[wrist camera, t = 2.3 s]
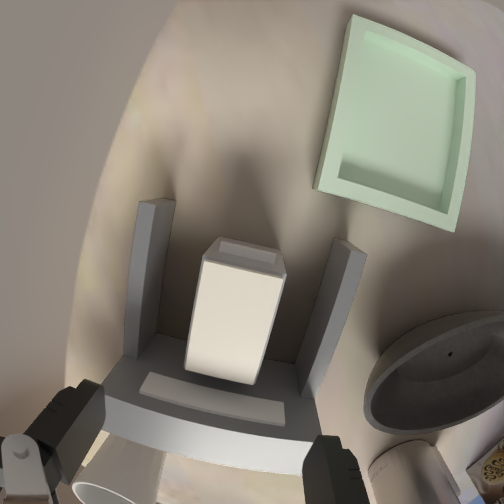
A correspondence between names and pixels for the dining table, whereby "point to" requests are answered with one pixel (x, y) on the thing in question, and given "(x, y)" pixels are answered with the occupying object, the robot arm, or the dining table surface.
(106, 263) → the dining table surface
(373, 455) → the dining table surface
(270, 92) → the dining table surface
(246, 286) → the white block
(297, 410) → the bay
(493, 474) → the coffee box
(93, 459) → the cup
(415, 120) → the tray
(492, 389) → the bowl
